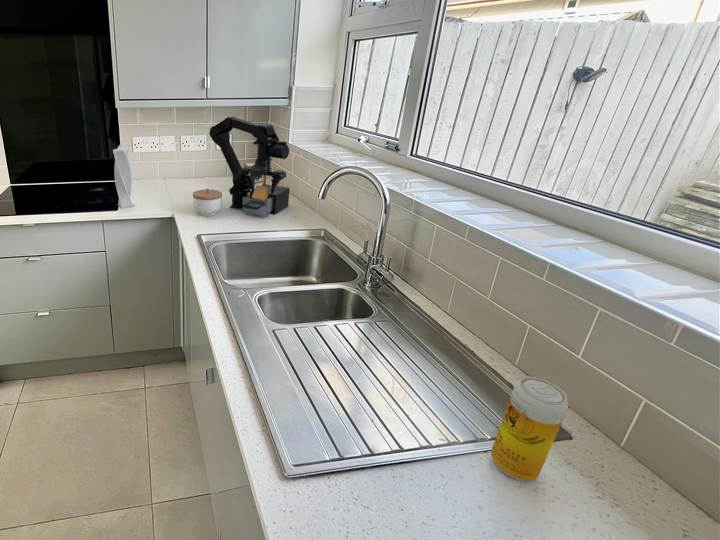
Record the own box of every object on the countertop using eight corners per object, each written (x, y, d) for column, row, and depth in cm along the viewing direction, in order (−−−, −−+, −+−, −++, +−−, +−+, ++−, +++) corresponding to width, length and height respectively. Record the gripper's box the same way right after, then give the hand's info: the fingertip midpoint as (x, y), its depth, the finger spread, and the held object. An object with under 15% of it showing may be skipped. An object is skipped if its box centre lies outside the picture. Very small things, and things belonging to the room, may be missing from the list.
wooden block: (254, 202, 175) (251, 197, 171) (259, 190, 176) (256, 185, 173) (264, 204, 172) (261, 199, 169) (269, 191, 174) (266, 186, 170)
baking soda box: (246, 197, 199) (247, 165, 193) (243, 194, 205) (244, 162, 199) (264, 197, 200) (266, 164, 194) (261, 193, 206) (262, 162, 200)
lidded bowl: (192, 209, 182) (191, 185, 178) (220, 208, 183) (220, 184, 179) (193, 218, 170) (193, 193, 166) (223, 217, 171) (224, 192, 167)
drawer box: (275, 214, 175) (276, 195, 172) (249, 209, 181) (249, 190, 178) (288, 205, 186) (289, 187, 183) (263, 201, 193) (264, 184, 189)
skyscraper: (130, 202, 192) (125, 142, 182) (137, 205, 187) (132, 144, 176) (114, 204, 188) (109, 143, 178) (121, 208, 182) (115, 146, 172)
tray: (261, 219, 166) (262, 203, 163) (237, 214, 172) (237, 199, 169) (279, 208, 180) (280, 193, 177) (256, 204, 185) (257, 190, 183)
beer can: (480, 450, 65) (506, 376, 59) (515, 447, 66) (544, 373, 60) (509, 485, 59) (541, 407, 54) (548, 482, 60) (583, 404, 54)
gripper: (234, 156, 167) (234, 193, 173) (276, 161, 157) (274, 200, 163) (247, 153, 176) (246, 188, 181) (288, 157, 166) (285, 194, 172)
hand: (262, 192), depth 174 cm, fingers open, 9 cm apart
